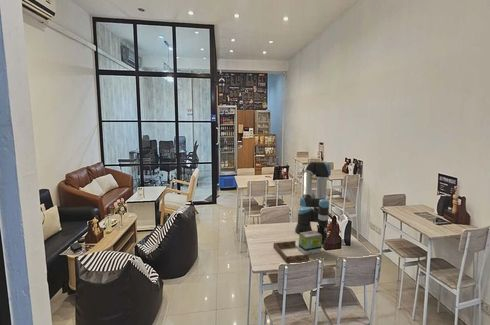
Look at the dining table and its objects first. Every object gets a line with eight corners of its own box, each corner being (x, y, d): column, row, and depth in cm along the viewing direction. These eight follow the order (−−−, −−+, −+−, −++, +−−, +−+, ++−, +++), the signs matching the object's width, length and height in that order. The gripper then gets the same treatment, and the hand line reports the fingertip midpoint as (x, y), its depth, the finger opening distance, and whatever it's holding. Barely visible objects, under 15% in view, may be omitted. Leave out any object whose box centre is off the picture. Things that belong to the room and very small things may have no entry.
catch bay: (294, 245, 235) (294, 240, 235) (309, 259, 212) (309, 254, 211) (273, 247, 230) (273, 242, 230) (285, 262, 207) (285, 257, 206)
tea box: (305, 255, 218) (306, 237, 216) (297, 250, 227) (298, 232, 225) (321, 252, 224) (322, 234, 222) (313, 247, 233) (314, 229, 231)
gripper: (314, 216, 229) (312, 244, 233) (323, 222, 217) (321, 251, 221) (322, 216, 231) (320, 243, 235) (331, 221, 219) (329, 250, 223)
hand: (321, 247), depth 228 cm, fingers closed
